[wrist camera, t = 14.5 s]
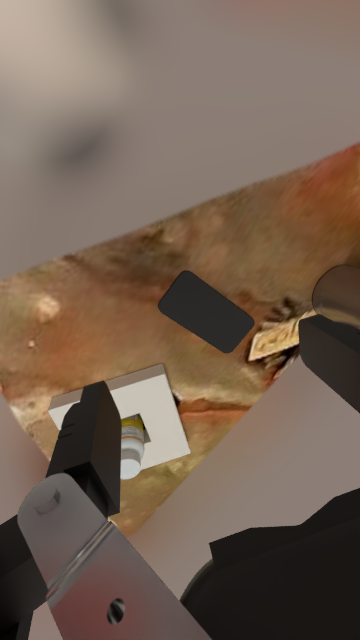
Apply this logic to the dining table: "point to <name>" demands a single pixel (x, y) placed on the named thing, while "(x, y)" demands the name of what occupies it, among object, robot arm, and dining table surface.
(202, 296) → the phone
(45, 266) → the dining table surface
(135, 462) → the supplement bottle
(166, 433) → the socket block
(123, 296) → the dining table surface
